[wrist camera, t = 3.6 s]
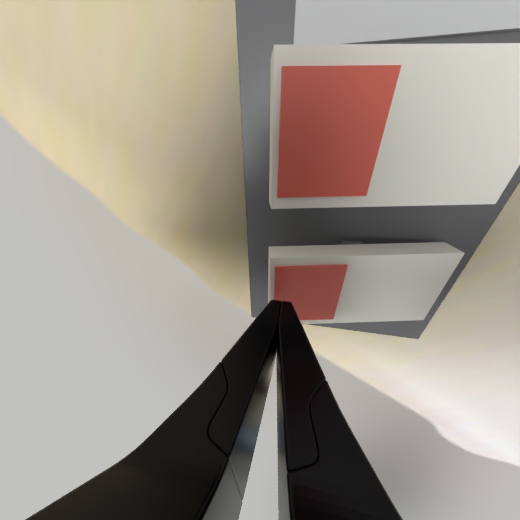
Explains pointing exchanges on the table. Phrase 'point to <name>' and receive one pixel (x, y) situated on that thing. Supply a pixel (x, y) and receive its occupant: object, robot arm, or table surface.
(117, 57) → the table surface
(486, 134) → the rocker
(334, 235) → the rocker switch panel
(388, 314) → the rocker
